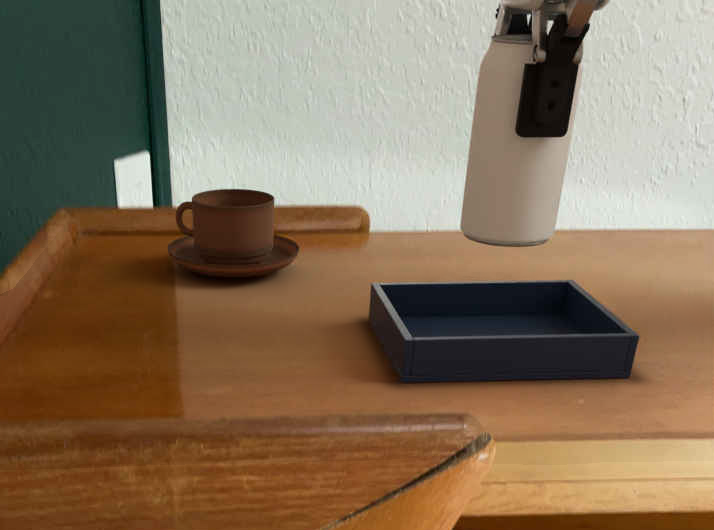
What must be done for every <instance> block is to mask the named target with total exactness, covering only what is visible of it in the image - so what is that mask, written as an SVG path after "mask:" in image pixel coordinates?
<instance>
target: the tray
mask: <svg viewBox="0 0 714 530" xmlns="http://www.w3.org/2000/svg"><path fill="white" fill-rule="evenodd" d="M368 322H369V325H370V326H371V328H372V330H373V333H375V335H376V337H377V340H378V341H379V343H380V345H381V347H382V349H383V351H384V353H385V355H386V356H387V359H388V360H389V362H390V365H391V366H392V368H393V370H394V371H395V373H396V375H397V377H398V379H399V381H400V382H401V383H402V384H405V383H407V384H408V383H411V384H412V383H448V382H449V383H450V382H452V383H453V382H454V383H455V382H490V381H492V382H494V381H495V382H497V381H533V380H535V381H536V380H572V379H573V380H578V379H579V380H580V379H582V380H584V379H585V380H586V379H621V378H622V379H624V378H625V379H627V378H631V374H632V370H633V367H634V361H635V357H636V353H637V350H638V345H639V340H640V334H638V332H636V331H635V330H634V329H632V328H631V327H630V326H628V324H627V323H625V322H624V321H623V320H622V319H621V318H619V317H618V316H617V315H615V314H614V313H613V311H611V310H609V308H608V307H606V306H605V305H604V304H602V303H601V302H600V301H598V300H597V298H595V297H594V296H593V295H591V293H590V292H588V291H587V290H585V288H583V287H582V286H581V285H579V283H577V282H576V281H575V280H574V279H541V280H540V279H539V280H538V279H537V280H536V279H535V280H534V279H533V280H532V279H531V280H480V281H479V280H477V281H476V280H475V281H473V280H472V281H471V280H470V281H418V282H417V281H415V282H413V281H412V282H410V281H409V282H408V281H407V282H371V283H370V295H369V310H368Z"/></svg>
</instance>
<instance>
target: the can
mask: <svg viewBox="0 0 714 530" xmlns="http://www.w3.org/2000/svg"><path fill="white" fill-rule="evenodd" d="M489 40H490V44H489V46H488V49H487V51H486V52H485V55H484V56H483V58H482V60H481V62H480V64H479V69H478V76H477V85H476V90H475V91H476V92H475V99H474V108H473V116H472V123H471V132H470V140H469V147H468V156H467V163H466V164H467V165H466V172H465V181H464V188H463V198H462V205H461V206H462V207H461V215H460V224H459V225H460V226H459V228H460V231H461V232H462V233H463V236H464V237H465V238H466V239H467V240H470V241H473V242H475V243H479V244H481V245H482V244H483V245H488V246H493V247H505V248H525V247H527V248H528V247H537V246H540V245H543V244H545V243H547V242H548V241H549V240H550V239H551V238H552V237H553V236H554V234H555V229H556V225H557V220H558V215H559V214H558V213H559V210H560V209H559V208H560V204H561V203H560V202H561V198H562V193H563V187H564V180H565V176H566V175H565V174H566V171H567V170H566V168H567V163H568V158H569V152H570V148H571V147H570V146H571V140H572V136H573V130H574V125H575V119H576V114H577V113H576V112H577V106H578V101H579V94H580V88H581V83H582V78H583V77H582V76H583V63H582V62H583V61H581V62H580V64H579V68H578V74H577V79H576V85H575V91H574V97H573V102H572V108H571V114H570V120H569V126H568V131H567V133H566V135H565V136H563V137H520V136H518V135H517V134H516V132H515V128H516V121H517V114H518V107H519V100H520V93H521V86H522V79H523V72H524V66H525V63H532V35H495V36H493V35H491V36H489Z"/></svg>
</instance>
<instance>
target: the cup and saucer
mask: <svg viewBox="0 0 714 530" xmlns="http://www.w3.org/2000/svg"><path fill="white" fill-rule="evenodd" d="M187 210H191V212H192V228H189V227H187V225H185V223H184V220H183V215H184V212H185V211H187ZM175 222H176V225H177V227H178V230H179V231H180V232H182V234H183V235H185V236H182V237H179V238H177V239H175V240H173V241H171V242H170V243H169V244H168V246H167V252H168V256H169V257H170V259H171V260H173V262H174V263H175V264H177V265H178V266H180V267H181V268H183V269H185V270H187V271H190V272H193V273H196V274H201V275H204V276H205V275H206V276H211V277H220V278H247V277H255V276H262V275H267V274H271V273H274V272H277V271H280V270H282V269H284V268H287V267H288V266H289V265H291V264H292V263H293V262H294V260H296V259H297V258H298V256H299V253H300V245H299V244H298V243H297V242H296V241H294V240H293V239H290V238H288V237H285V236H283V235H282V236H281V235H278V234H275V233H274V232H275V229H274V227H275V197H274V195H273V194H271V193H269V192H265V191H261V190H255V189H247V188H245V189H244V188H222V189H211V190H204V191H201V192H198V193H195V194H194V195H193V196H192V197H191V201H189V200H187V201H184V202H181V203H180V204H179V206H177V208H176V211H175Z"/></svg>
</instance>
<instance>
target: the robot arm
mask: <svg viewBox="0 0 714 530" xmlns="http://www.w3.org/2000/svg"><path fill="white" fill-rule="evenodd" d="M496 2H498V8H496V10H495V11H496V13H494V14H495V19H496V22H495V26H494V29H493V30H494V31H493V34H492V36H495V35H532V63H525V66H524V72H523V79H522V86H521V93H520V100H519V107H518V114H517V121H516V128H515V132H516V134H517V135H518V136H520V137H563V136H565V135H566V133H567V131H568V126H569V120H570V114H571V108H572V102H573V97H574V91H575V85H576V79H577V74H578V68H579V64H580V62H582V60H583V56H584V47H585V46H584V44H585V37H586V35H587V33H589V31H590V27H591V22H590V19H591V17H592V15H593V14H594V12H599V11H601V10H603V9H604V8H606V6H607V5H608V4H610V2H611V0H496ZM528 15H529V16H530V17H529V20H528ZM549 21H551V22H552V25H551V27H550V29H549V30H548V28H549V27H548V25H549Z"/></svg>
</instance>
